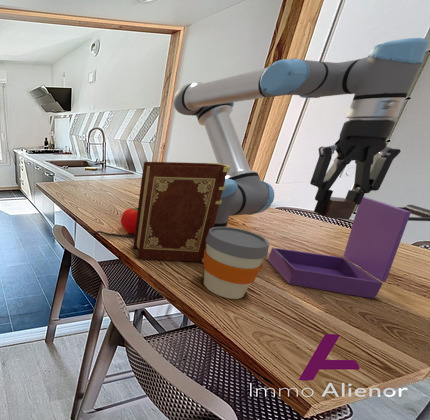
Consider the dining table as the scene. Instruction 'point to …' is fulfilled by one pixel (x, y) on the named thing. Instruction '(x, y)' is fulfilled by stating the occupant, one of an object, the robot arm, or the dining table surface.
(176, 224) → the decorative book
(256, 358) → the dining table surface
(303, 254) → the purple box base
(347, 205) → the block
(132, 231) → the tomato
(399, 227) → the purple hinged lid
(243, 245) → the reusable coffee cup
